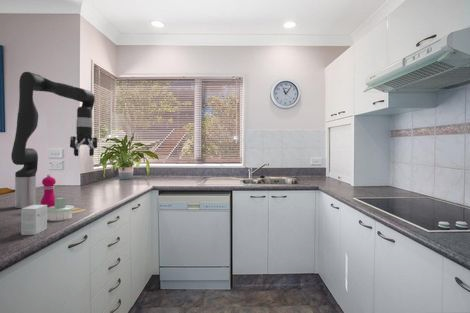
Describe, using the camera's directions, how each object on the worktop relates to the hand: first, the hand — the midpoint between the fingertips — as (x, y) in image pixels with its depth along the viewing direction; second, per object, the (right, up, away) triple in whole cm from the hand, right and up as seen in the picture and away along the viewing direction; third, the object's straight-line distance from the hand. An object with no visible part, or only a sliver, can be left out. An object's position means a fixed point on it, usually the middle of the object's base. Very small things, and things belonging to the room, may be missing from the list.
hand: (84, 155), depth 151 cm
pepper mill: (-17, -30, -3) cm, 35 cm away
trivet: (-5, -30, -5) cm, 31 cm away
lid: (-1, -26, -19) cm, 32 cm away
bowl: (-1, -31, -19) cm, 36 cm away
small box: (+1, -32, -38) cm, 49 cm away
